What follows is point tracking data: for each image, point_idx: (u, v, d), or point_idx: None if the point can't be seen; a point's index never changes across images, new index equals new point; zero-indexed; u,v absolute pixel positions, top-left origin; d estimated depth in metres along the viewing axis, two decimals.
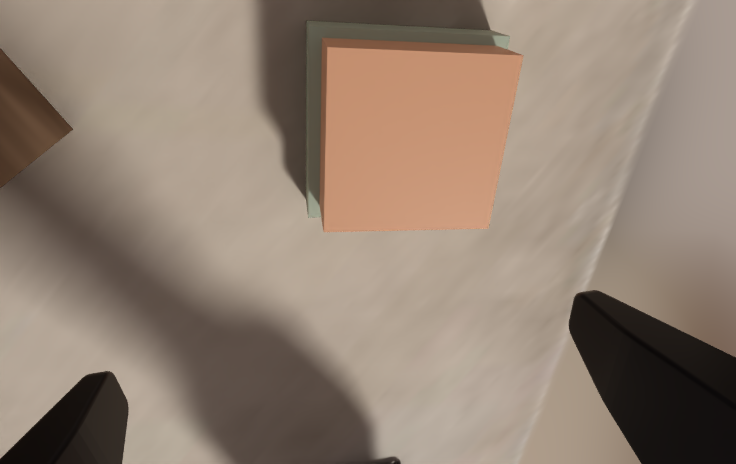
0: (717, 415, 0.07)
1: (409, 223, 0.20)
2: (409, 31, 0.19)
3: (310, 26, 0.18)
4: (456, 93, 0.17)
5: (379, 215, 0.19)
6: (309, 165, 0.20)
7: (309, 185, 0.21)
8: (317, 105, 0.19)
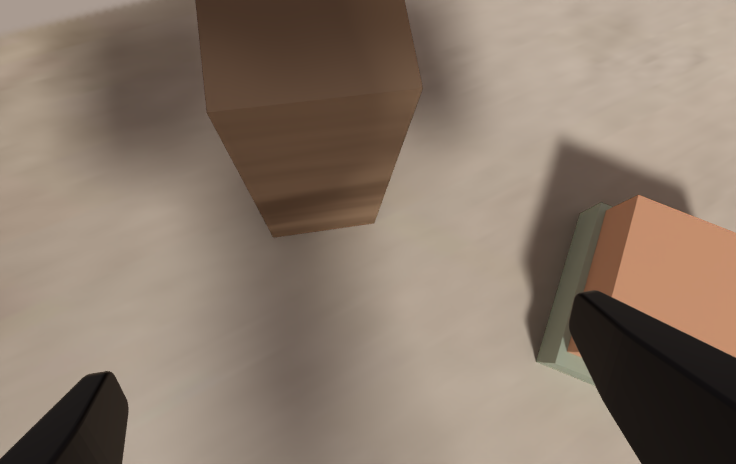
0: (717, 415, 0.07)
1: None
2: None
3: (601, 203, 0.23)
4: None
5: None
6: (570, 310, 0.22)
7: (565, 329, 0.21)
8: (591, 261, 0.22)
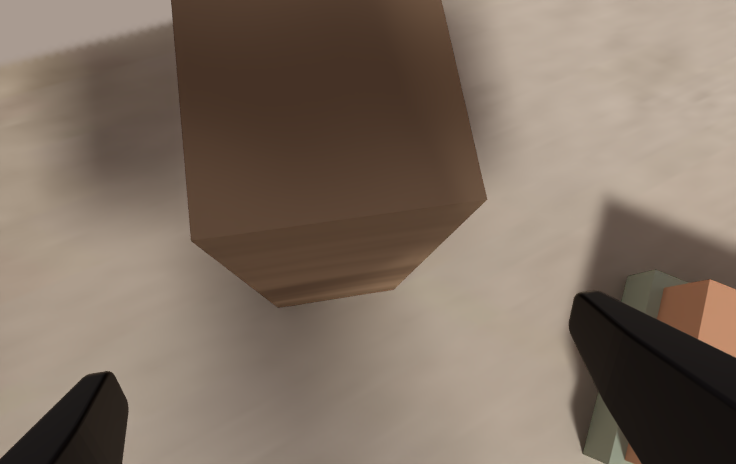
0: (717, 415, 0.07)
1: None
2: None
3: (655, 270, 0.20)
4: None
5: None
6: None
7: None
8: None
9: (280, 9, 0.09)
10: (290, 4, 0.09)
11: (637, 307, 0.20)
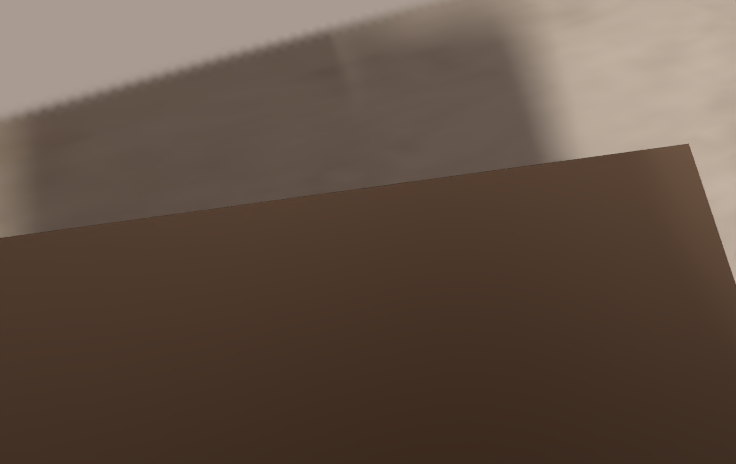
0: None
1: None
2: None
3: None
4: None
5: None
6: None
7: None
8: None
9: (293, 324, 0.03)
10: (323, 308, 0.03)
11: None
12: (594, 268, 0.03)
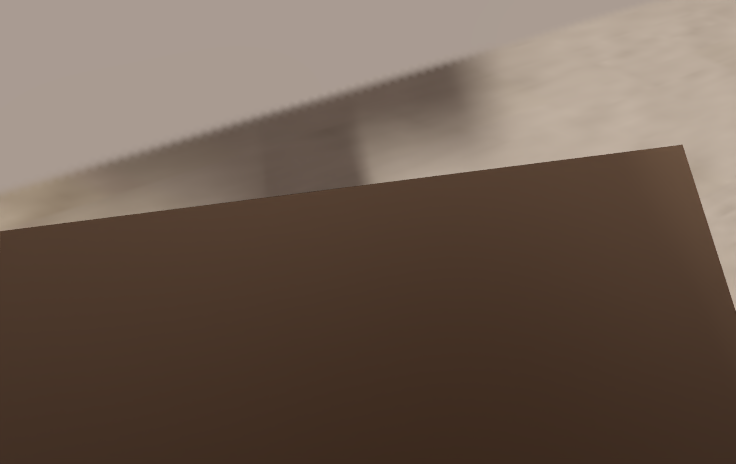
0: None
1: None
2: None
3: None
4: None
5: None
6: None
7: None
8: None
9: (297, 313, 0.03)
10: (325, 299, 0.03)
11: None
12: (588, 264, 0.03)
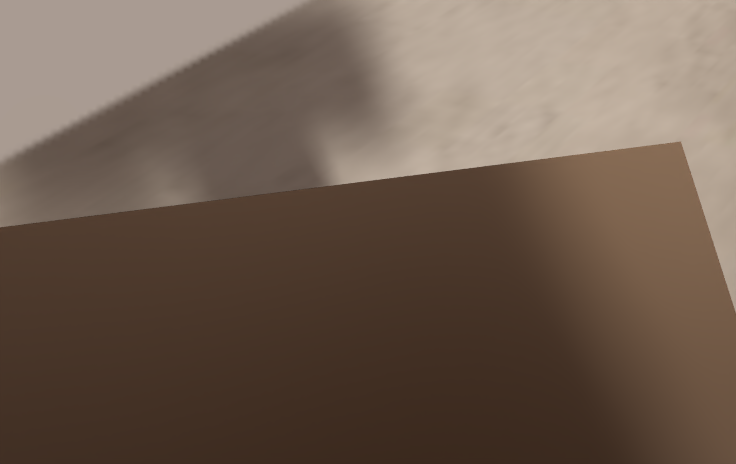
0: None
1: None
2: None
3: None
4: None
5: None
6: None
7: None
8: None
9: (293, 310, 0.03)
10: (323, 296, 0.03)
11: None
12: (587, 261, 0.03)
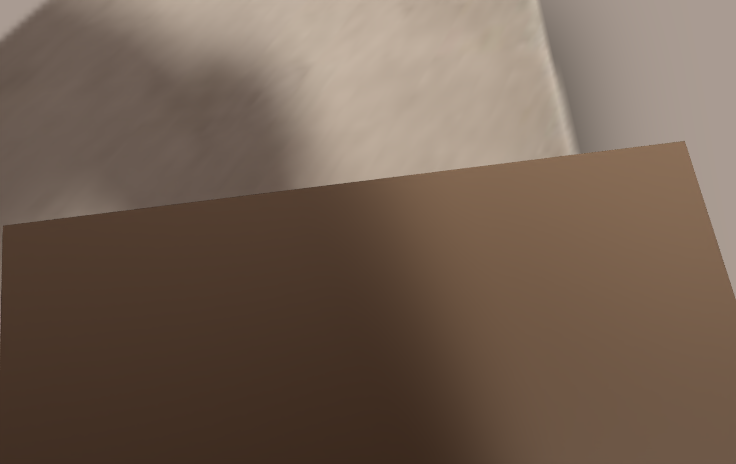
0: None
1: None
2: None
3: None
4: None
5: None
6: None
7: None
8: None
9: (301, 308, 0.03)
10: (330, 294, 0.03)
11: None
12: (591, 258, 0.03)
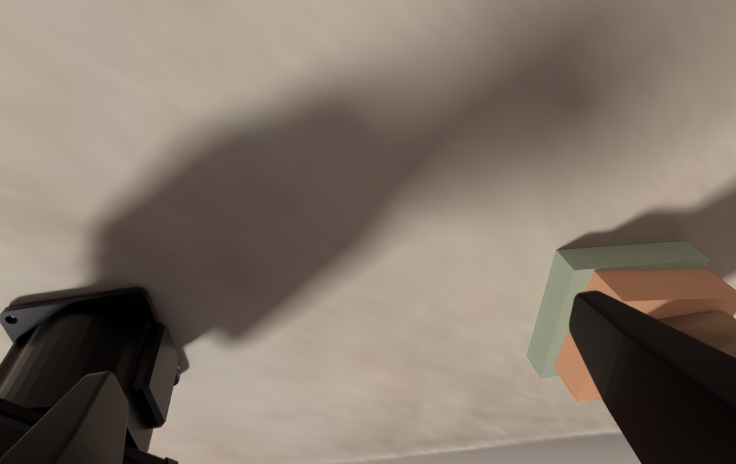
0: (717, 415, 0.07)
1: None
2: None
3: (708, 259, 0.26)
4: None
5: None
6: (617, 267, 0.25)
7: (602, 268, 0.25)
8: (659, 268, 0.26)
9: None
10: None
11: (675, 255, 0.26)
12: None
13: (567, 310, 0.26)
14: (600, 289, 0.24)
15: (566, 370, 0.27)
